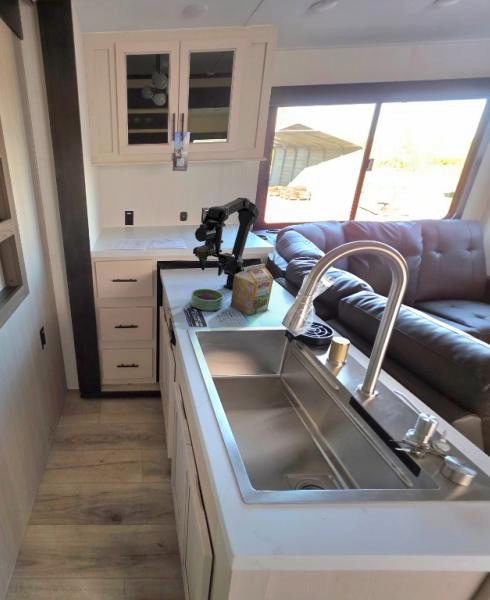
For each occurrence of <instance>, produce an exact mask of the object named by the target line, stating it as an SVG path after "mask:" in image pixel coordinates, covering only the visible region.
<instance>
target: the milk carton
mask: <svg viewBox="0 0 490 600" xmlns="http://www.w3.org/2000/svg"><path fill="white" fill-rule="evenodd" d="M265 266H266V264H265V263H260V264H256V265H255V264H254V265H249V266H246V267H245V269H244V270H245V271H242V272H239V273H237V274H236V275H235V276H234V283H233V290H232V292H231V299H230V304H229V306H230V307H231V308H233V309H236V310H238V311H239V312H241V313H243V314H245V315H247V316H252V315H256V314H259V313H263V312H266V311H268V308H269V304H270V298H271V293H272V289H273V283H274V277H273V275H272V274H271V273H270V271H269V270H268V269H267V268H266V267H265Z"/></svg>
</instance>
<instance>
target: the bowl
mask: <svg viewBox="0 0 490 600" xmlns="http://www.w3.org/2000/svg"><path fill="white" fill-rule="evenodd" d="M204 293H209V294H211V295H212V298H213V300H203V299H201V296H202V295H203V294H204ZM223 300H224V295H223V293H222V292H221V291H218V290H215V289H211V288H199V289H198V288H197V289H194V290H193V291H191V295H190V304H191V306H192V307H194V308H195V309H198V310H202V311H211V312H212V311H218V310H220V309H221V308H222V307H223V302H224V301H223Z"/></svg>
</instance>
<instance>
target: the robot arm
mask: <svg viewBox="0 0 490 600" xmlns="http://www.w3.org/2000/svg"><path fill="white" fill-rule="evenodd" d="M234 213H238V214H237V219H238V223H239V226H238V229H237V231H236V232H237V233H236V235H235V240H234V243H233V247H232V250H231V253H230V252H224V253H223V249H221V247H222V244H224V239H223V230H224V227H226V223H225V222H226V221H227V220H228V219H229V217H230V216H231V215H233V214H234ZM259 215H260V208H258V205H256V203H253V202H252V201H251V200H250V199H249V198H248V197H237V198H236V199H234V200H232V201H229V202H228V203H225V204H223V205H216V206H211V207H209V209H208V210H207V212H206V214H205V217H204V219H203V221H202V222H201V223H200V224H199V227H197V228H196V230H195V232H194V238H195V239H196V241H198V242H200V243H201V242H204V244H203V245H200V246H195V247H194V248H193V249H192V254H193V255H194V256H195V257H196V258H197V259H198V261H199V264H200V267H201V268H200V269H201V271H205V269H206V266H207V261H208V258H209V257H213V258H217V260H218V261H217V264H218V267H217V268H218V269H217V276H218V277H220V276H221V275H222V273H223V274H224V275H227V277H226V281H225V282H226V283H225V284H223V287H224V288H226V289H229V290H232V291H233V283H234V276H235V275H236V274H237V273H239V272H242V271H245V270H246V269H245V268H244V264H245V263H244V262H245V261H244V259H243V254H244V250H245V246H246V244H247V240H248V237H249V236H248V235H249V233H250V229H251V227H252V226H253V224H254V223H256V221H257V220H258V217H259ZM222 239H223V240H222Z"/></svg>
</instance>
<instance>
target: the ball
mask: <svg viewBox="0 0 490 600" xmlns="http://www.w3.org/2000/svg"><path fill="white" fill-rule="evenodd" d="M201 299H203V300H213V298H212V295H211V294H209V293H204V294H203V295H202V296H201Z"/></svg>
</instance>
